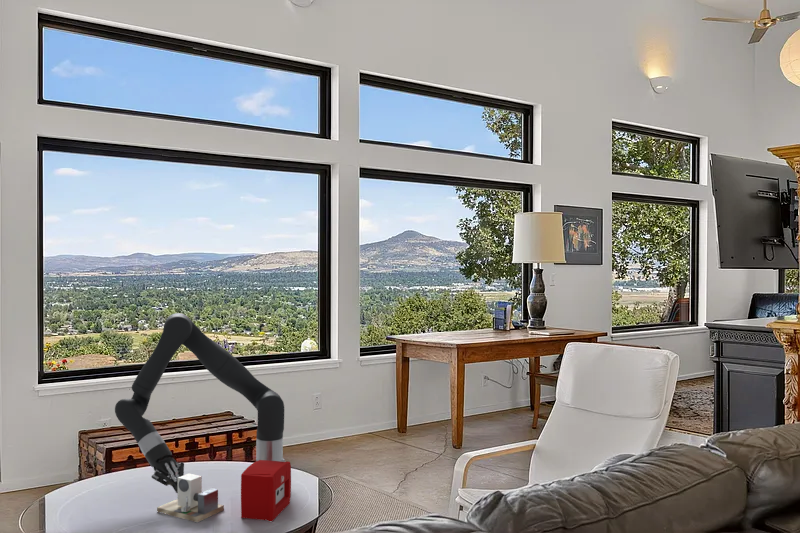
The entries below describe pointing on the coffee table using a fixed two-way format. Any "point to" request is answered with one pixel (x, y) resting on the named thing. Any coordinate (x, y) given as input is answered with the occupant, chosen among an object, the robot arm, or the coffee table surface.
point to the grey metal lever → (187, 508)
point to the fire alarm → (265, 489)
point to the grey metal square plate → (208, 501)
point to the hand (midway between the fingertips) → (182, 492)
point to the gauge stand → (191, 515)
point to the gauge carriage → (189, 490)
